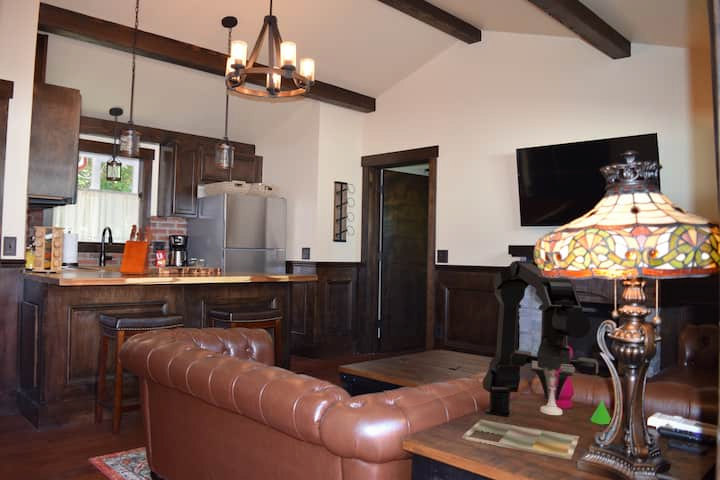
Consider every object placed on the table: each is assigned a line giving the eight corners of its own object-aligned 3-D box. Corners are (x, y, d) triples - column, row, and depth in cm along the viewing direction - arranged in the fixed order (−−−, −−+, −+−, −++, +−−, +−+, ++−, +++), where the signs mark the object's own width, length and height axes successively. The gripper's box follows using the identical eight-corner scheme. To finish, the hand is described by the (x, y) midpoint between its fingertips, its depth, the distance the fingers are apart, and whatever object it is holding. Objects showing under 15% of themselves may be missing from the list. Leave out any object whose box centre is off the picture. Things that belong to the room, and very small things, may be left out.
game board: (480, 421, 146) (480, 419, 146) (579, 438, 135) (579, 436, 135) (461, 438, 131) (461, 436, 131) (570, 459, 120) (570, 457, 120)
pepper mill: (543, 403, 169) (545, 337, 169) (563, 402, 171) (564, 337, 171) (558, 409, 162) (560, 341, 162) (578, 408, 164) (580, 341, 164)
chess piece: (564, 416, 124) (566, 371, 124) (541, 413, 125) (543, 369, 125) (560, 410, 129) (563, 367, 129) (538, 407, 130) (541, 365, 130)
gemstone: (598, 425, 147) (599, 403, 148) (585, 419, 153) (585, 397, 153) (618, 425, 148) (618, 403, 149) (604, 418, 154) (604, 397, 155)
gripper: (505, 331, 124) (503, 400, 124) (595, 340, 116) (592, 415, 115) (516, 326, 134) (513, 390, 134) (599, 334, 126) (597, 403, 125)
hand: (552, 399), depth 127 cm, fingers closed on chess piece
